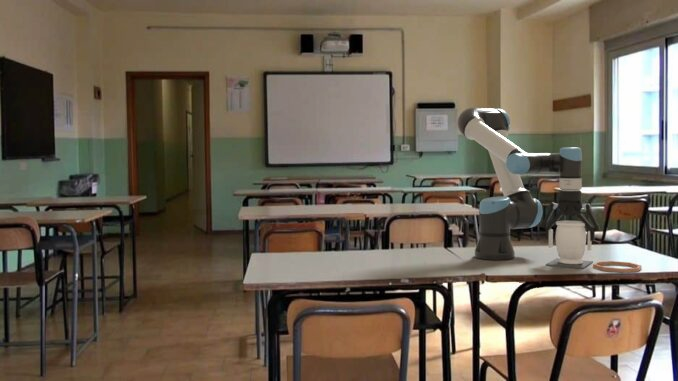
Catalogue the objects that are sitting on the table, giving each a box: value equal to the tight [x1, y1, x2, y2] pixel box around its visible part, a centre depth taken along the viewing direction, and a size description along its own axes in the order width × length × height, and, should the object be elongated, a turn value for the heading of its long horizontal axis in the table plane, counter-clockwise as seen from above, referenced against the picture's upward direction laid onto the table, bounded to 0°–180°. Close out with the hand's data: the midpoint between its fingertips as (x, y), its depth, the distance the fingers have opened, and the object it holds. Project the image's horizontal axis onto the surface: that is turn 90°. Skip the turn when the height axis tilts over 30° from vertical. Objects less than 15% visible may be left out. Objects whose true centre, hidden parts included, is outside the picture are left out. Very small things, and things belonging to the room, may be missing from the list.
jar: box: [554, 220, 587, 265], centre depth 224 cm, size 11×10×15 cm
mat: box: [545, 257, 594, 270], centre depth 225 cm, size 13×15×1 cm
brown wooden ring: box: [592, 260, 642, 273], centre depth 216 cm, size 15×15×1 cm
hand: (569, 248), depth 225 cm, fingers open, 13 cm apart
